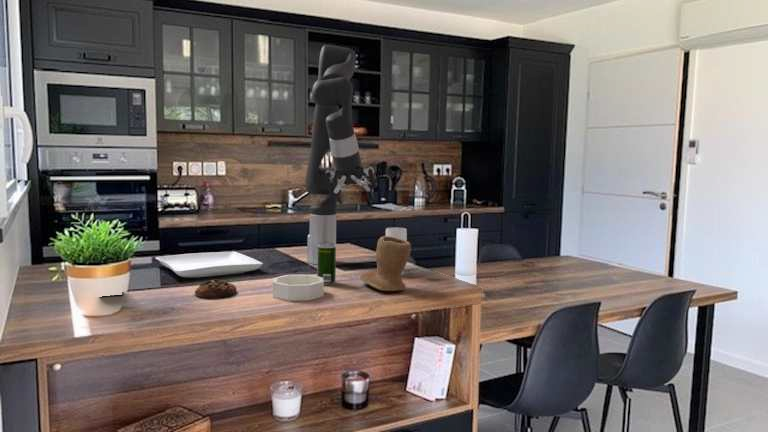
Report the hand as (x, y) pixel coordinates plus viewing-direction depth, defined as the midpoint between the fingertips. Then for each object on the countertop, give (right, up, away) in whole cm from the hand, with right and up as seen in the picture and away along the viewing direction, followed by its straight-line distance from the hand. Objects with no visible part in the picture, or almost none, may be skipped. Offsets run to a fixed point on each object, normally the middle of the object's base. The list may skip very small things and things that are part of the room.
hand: (355, 202), depth 165 cm
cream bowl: (-15, -25, -9) cm, 31 cm away
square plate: (-49, -22, +21) cm, 58 cm away
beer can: (-9, -24, +5) cm, 26 cm away
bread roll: (-37, -26, -10) cm, 46 cm away
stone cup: (+9, -25, +1) cm, 27 cm away
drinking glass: (+12, -23, +19) cm, 32 cm away
